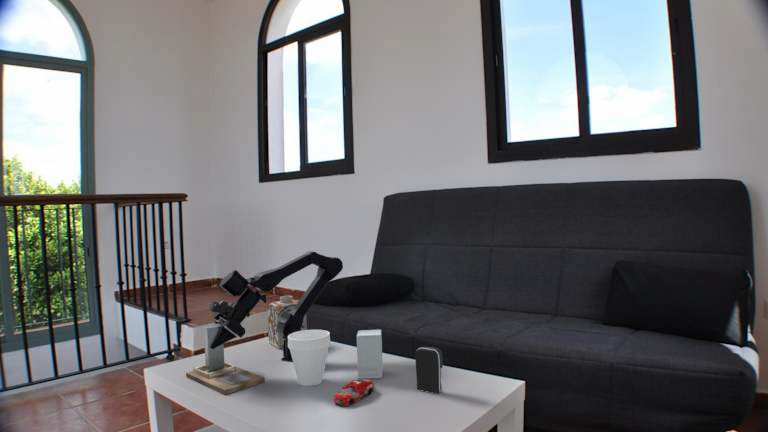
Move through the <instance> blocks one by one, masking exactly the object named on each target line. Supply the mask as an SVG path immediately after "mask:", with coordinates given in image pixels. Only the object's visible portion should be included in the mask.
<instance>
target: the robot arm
mask: <svg viewBox="0 0 768 432" xmlns="http://www.w3.org/2000/svg"><path fill="white" fill-rule="evenodd" d="M311 265H315V266H316V267H318V268H317V271H316V276H315V277H314V279H313V280H312V281H311V283H310V285H309V286H308V287H307V289H305V292H304V293H303V294H302V296H301V298H300V299H298V300H299V301H298V303H297V304H296V306H295V307H294V308H293V310H291V311H290V312H287V311H284V312H283V314H282V316H281V317H280V318H279V319H278V320H277V321H279V322H278V323H277V326H276V327H277V331H278V333H279V334H280V335H282V337H283V339H285V340H284V344H283V349H282V356H283V357H281V361H288V362H293V360H292V356H291V353H290V349H289V348H288V335H289V334H291V333H294V332H297V331H301V330H300V329H301V327H302V324H303V320H304V316H305V315H306V316H307V314H308V312H309V310H310V309H311V308H312V307H313V304H314V303H315V301H316V300H317V298H318V297H319V296H320V294H321V293H322V291H324V289H325V287H326V285H327V284H328V283H329V282H331V281H332V280H333V279H335V278H337V276H338V275H339V274H340V273H341V272H342V271H343V269H344V265H343V261H342V260H341V258H339V257H333V256H327V255H324V254H320V253H318V252H316V251H307V252H305V253H304V254H302V255H300V256H298V257H296V258H294V259H292V260H290V261H288V262H286V263H284V264H282V265H280V266H278V267H276V268H273V269H268V270H264V271H260V272H258V273H256V274H254V276H253V277H249V278H245V277H244V276H243V275H242V274H241V273H240V272H239V271H238V270H236V269H233V270H232V271H231V272H229V273H228V274H227V275H226V276H224V277H223V278H222V280H221V281H220V283H219V287H221V288H222V289H223V290H224V291H225V292H227V294H229V295H230V296H232V297H233V298H234V297H238V298H237V299H236V301H232V302H230V303H229V302H228V301H225V300H221V301H217V300H214V299H212V301H211V303H210V306H209V308H208V310H210V312H212V313H213V315H212V318H213V324H218V323H219V324H220V332H219V334H218V335H217V337H216V338H215V340H214V341H213V343H212V345H211V346H210V348H212V349H214V348H216V347H218V346H220V345H222V344H225V343H227V342H230V341H231V340H234V339H236V338H237V337H239V338H240V339H242V338H243V337H244V335H245V334H246V328H245V327H244V326H242V323H243V321H244V320H245V319H246V318H249V317H250V316H251V314H250V313H251V312H252V310H253V309H254V308H255V307H256V305H257V304H258V303H259V302H262V303H264V304H266V303H267V294H265V293H261V292H260V291H262V292H270V291H272V290H273V289H275V288H276V287H277V286H279V285H280V284H281V282H282V281H283V280H285V279H286V278H288V277H289V276H292V275H294V274H295V273H297V272H299V271H301V270H303V269H305V268H307V267H309V266H311ZM250 287H251V288H250ZM252 288H255V289H252ZM258 290H259V291H258Z"/></svg>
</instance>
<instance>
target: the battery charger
mask: <svg viewBox="0 0 768 432" xmlns="http://www.w3.org/2000/svg"><path fill="white" fill-rule="evenodd" d="M443 362H444V361H443V353H442V351H441V349H439V348H437V347H433V346H431V347H430V346H421V347H419V348H417V349H416V351H415V371H416V372H415V373H416V375H415V376H416V389H417V391H421V390H423V391H422V392H426V391H428V392H427V393H431V392H433V394H440V393H441V392H442V390H443V388H442V383H441V382H442V381H441V377H442V369H443V367H444V366H443V365H444V363H443Z"/></svg>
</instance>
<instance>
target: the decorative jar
mask: <svg viewBox="0 0 768 432" xmlns="http://www.w3.org/2000/svg"><path fill="white" fill-rule="evenodd" d="M299 300H300V299H293V296H292V295H283V296H280V297H279V300H276V301H273V302H271V303H269V305H268V307H267V335H268V343H269V344H270V345H272V346H273V347H275V348H276V349H278V350H283V344H284V340H285V339H283V337H282V335H280V334H279V333H278V331H277V327H276V326H277V323H278V322H279V321H277V320H278V319H279V318H280V317H281V316H282V314H283V312H284V311H287V312H290V311H291V310H293V308H294V307H295V306H296V304H297V303H298V301H299ZM300 330H301V331H302V330H308V324H307V314H306V315H305V316H304V320H303V324H302V327H301V329H300Z"/></svg>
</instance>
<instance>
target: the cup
mask: <svg viewBox="0 0 768 432" xmlns="http://www.w3.org/2000/svg"><path fill="white" fill-rule="evenodd" d="M330 334H331V333H330V331H328V330H324V329H307V330H302V331H297V332H294V333H291V334H289V335H288V348H289V349H290V353H291V356H292V360H293V361H292V364H293V367H294V370H295V374H296V378H297V381H298V384H299V385H301V386H305V387H309V386H311V387H312V386H316V385H319V384H321V383H323V380H324V379H323V378H324V373H325V368H326V363H327V359H328V353H329V348H330V346H331V335H330Z"/></svg>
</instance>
